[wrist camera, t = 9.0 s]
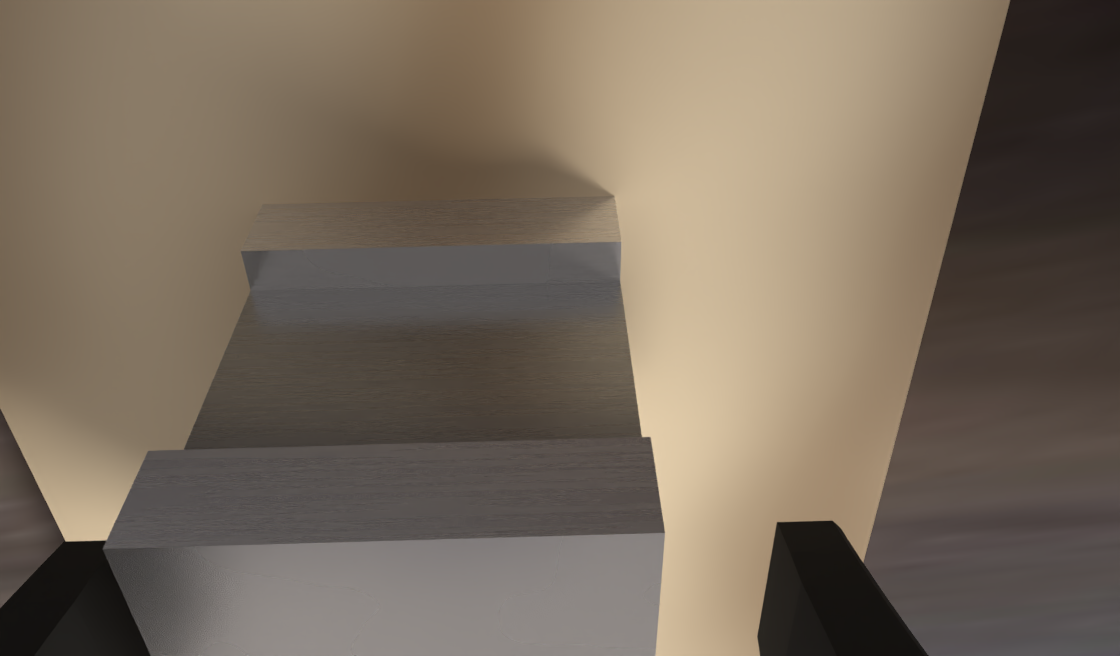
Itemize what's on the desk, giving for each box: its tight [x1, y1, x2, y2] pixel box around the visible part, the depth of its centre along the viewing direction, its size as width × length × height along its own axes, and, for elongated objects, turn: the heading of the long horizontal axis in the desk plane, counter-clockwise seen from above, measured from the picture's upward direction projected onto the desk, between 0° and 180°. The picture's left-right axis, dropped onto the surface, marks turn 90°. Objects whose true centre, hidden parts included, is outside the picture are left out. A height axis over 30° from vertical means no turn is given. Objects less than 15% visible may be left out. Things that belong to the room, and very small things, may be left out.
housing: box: [103, 196, 665, 656], centre depth 11 cm, size 7×4×5 cm, turn 1°
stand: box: [0, 0, 1010, 656], centre depth 13 cm, size 12×12×2 cm
